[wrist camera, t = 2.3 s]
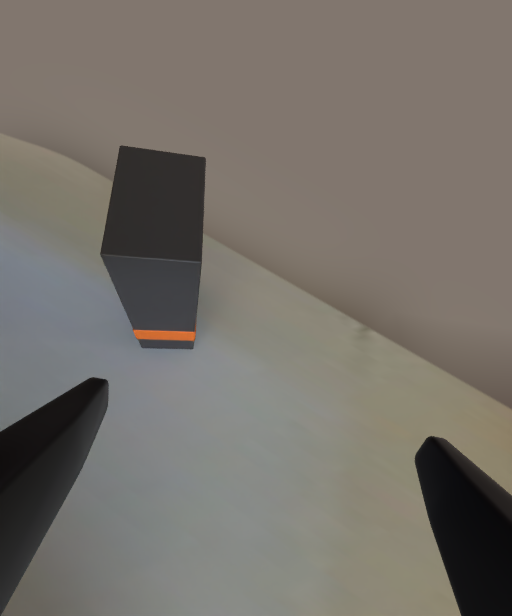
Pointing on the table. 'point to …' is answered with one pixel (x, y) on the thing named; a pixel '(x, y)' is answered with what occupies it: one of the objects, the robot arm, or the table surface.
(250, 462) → the table surface
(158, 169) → the laser measure
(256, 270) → the table surface
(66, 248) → the table surface
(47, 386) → the table surface
